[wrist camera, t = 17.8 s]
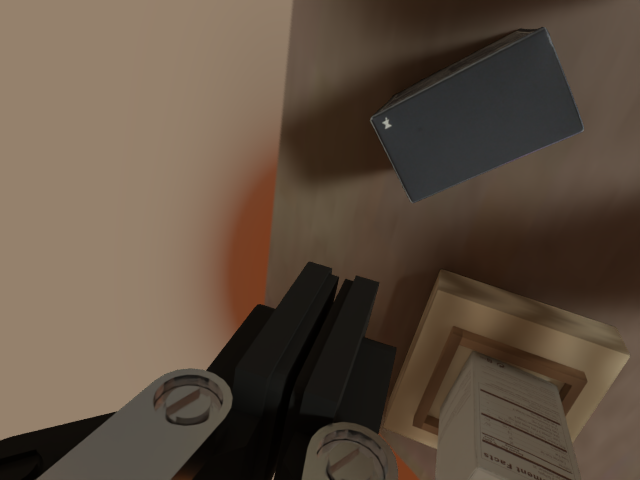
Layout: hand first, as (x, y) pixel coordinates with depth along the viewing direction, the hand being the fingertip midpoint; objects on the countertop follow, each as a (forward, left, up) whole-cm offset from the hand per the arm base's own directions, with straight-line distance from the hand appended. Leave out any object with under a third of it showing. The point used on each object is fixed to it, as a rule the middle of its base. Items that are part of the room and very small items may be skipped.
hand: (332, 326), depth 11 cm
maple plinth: (-12, +20, -30) cm, 38 cm away
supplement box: (-13, +20, -26) cm, 35 cm away
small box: (-2, -2, -30) cm, 31 cm away
